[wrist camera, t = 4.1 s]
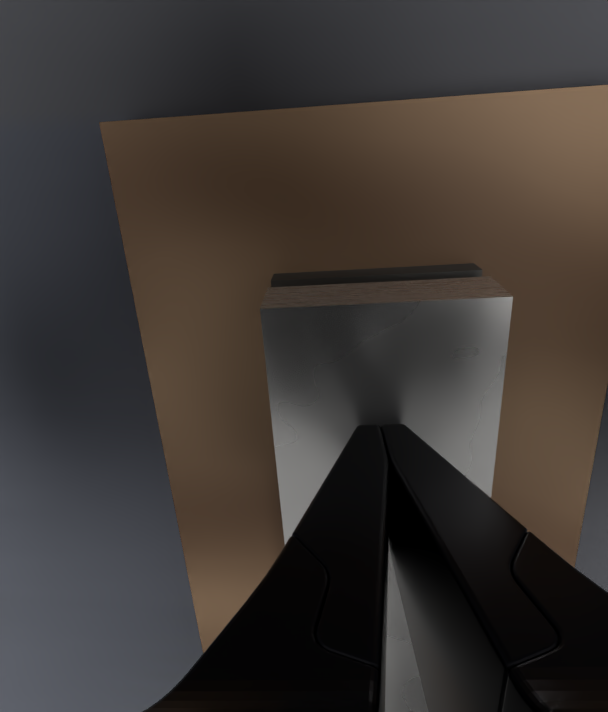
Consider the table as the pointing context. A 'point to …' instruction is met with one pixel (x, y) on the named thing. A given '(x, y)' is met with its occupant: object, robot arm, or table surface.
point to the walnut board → (362, 265)
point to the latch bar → (384, 395)
